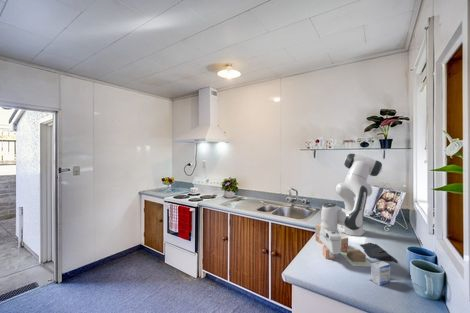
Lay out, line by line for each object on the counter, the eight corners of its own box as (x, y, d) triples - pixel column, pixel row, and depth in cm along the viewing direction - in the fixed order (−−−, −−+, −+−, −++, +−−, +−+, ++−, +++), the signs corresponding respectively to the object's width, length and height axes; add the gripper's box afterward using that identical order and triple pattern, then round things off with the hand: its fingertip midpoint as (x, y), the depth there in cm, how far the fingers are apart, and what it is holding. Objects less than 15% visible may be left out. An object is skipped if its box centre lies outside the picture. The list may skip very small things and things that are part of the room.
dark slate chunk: (380, 247, 144) (380, 240, 144) (399, 265, 123) (400, 256, 122) (355, 246, 147) (355, 239, 146) (370, 262, 125) (370, 254, 125)
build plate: (339, 253, 134) (339, 252, 134) (358, 254, 134) (358, 252, 134) (352, 267, 118) (352, 265, 118) (375, 268, 118) (375, 266, 118)
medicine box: (379, 285, 102) (380, 267, 102) (370, 280, 106) (370, 263, 106) (390, 282, 106) (390, 264, 105) (380, 277, 110) (381, 260, 109)
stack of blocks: (348, 252, 137) (348, 232, 136) (341, 254, 134) (341, 234, 134) (321, 239, 156) (322, 222, 156) (315, 240, 153) (315, 223, 153)
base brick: (346, 255, 130) (347, 249, 129) (358, 256, 129) (358, 249, 129) (353, 261, 123) (353, 254, 122) (365, 262, 122) (365, 254, 122)
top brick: (322, 256, 131) (322, 246, 131) (330, 256, 131) (331, 246, 131) (325, 260, 126) (326, 250, 126) (334, 260, 126) (334, 250, 126)
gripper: (317, 225, 138) (316, 246, 139) (330, 237, 118) (330, 263, 118) (327, 225, 138) (326, 246, 138) (342, 238, 118) (342, 263, 118)
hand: (328, 254), depth 128 cm, fingers closed on top brick, 5 cm apart
